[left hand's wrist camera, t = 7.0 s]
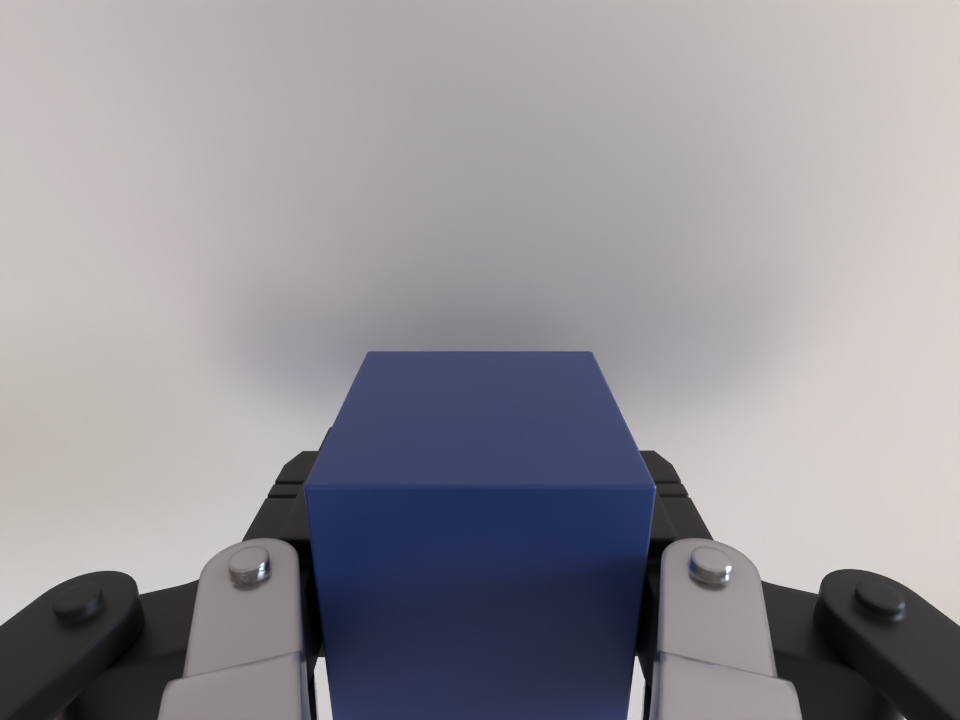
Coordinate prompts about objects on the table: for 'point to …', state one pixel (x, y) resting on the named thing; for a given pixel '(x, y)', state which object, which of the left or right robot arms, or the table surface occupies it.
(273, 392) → the table surface
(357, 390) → the brick
